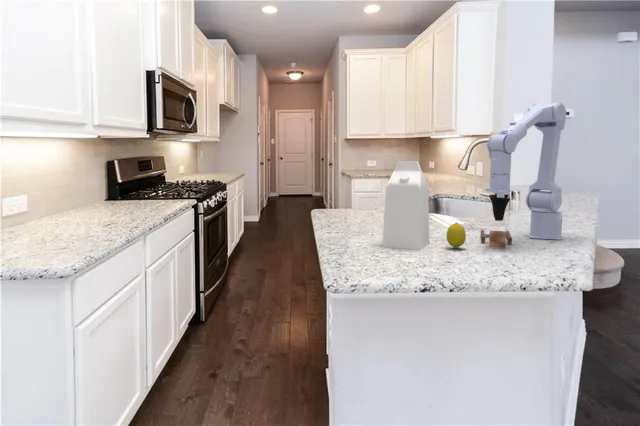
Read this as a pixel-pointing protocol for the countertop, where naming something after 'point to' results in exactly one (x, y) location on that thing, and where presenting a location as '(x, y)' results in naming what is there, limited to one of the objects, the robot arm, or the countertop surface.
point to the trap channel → (508, 236)
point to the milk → (406, 208)
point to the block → (497, 239)
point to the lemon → (456, 235)
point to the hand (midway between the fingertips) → (498, 219)
